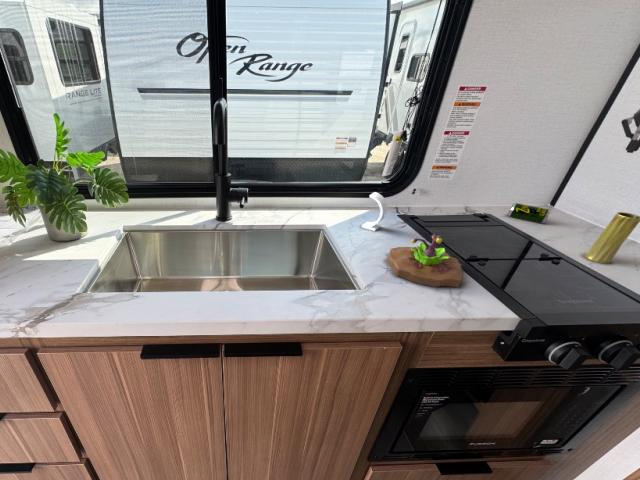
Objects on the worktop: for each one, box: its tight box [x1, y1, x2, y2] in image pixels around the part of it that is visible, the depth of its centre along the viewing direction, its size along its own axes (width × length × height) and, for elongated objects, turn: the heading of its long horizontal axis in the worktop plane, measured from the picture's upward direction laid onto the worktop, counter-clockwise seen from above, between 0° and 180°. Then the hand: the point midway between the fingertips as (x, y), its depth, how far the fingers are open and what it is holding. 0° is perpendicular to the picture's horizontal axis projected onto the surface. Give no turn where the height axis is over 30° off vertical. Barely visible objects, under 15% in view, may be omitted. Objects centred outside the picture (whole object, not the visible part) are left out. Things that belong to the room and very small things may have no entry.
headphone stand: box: [361, 191, 388, 232], centre depth 116 cm, size 5×6×12 cm
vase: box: [584, 211, 640, 264], centre depth 97 cm, size 6×6×14 cm
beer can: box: [506, 202, 552, 224], centre depth 127 cm, size 5×5×12 cm
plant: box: [386, 233, 463, 288], centre depth 91 cm, size 20×20×11 cm
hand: (629, 152), depth 107 cm, fingers closed
